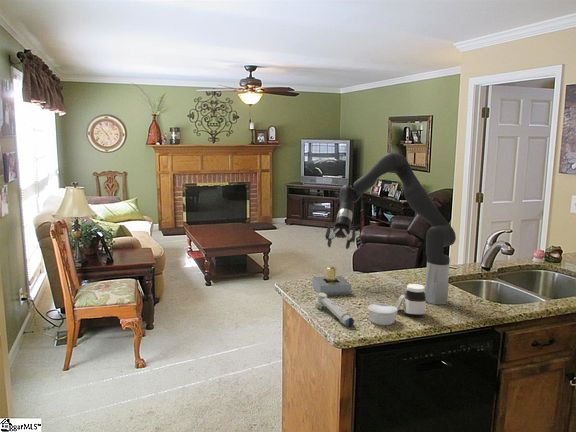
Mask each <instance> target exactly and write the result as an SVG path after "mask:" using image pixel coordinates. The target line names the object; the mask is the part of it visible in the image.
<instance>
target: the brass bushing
mask: <svg viewBox="0 0 576 432" xmlns="http://www.w3.org/2000/svg"><path fill="white" fill-rule="evenodd" d="M336 276H337V267H335V266H327V267H326V283H336Z"/></svg>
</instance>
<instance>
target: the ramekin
mask: <svg viewBox="0 0 576 432" xmlns="http://www.w3.org/2000/svg"><path fill="white" fill-rule="evenodd" d="M367 311H368V319H369V320H370V322H371V323H372V324H375V325H378V326H389V325H390V326H391V325H393V324H394V323H395V321H396V317H397V314H398V311H397V308H396V307H395V305H391V304H387V303H381V302H379V303H372V304H369V305H368V306H367ZM392 323H393V324H392Z"/></svg>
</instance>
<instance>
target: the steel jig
mask: <svg viewBox="0 0 576 432" xmlns="http://www.w3.org/2000/svg"><path fill="white" fill-rule="evenodd" d="M351 287H352V284H351V283H350V282H349V281H348V280H347V279H346V278H344V276H342V275H336V283H326V276H325V275H324V276H323V275H322V276H312V288H313V289H315V291H316V293H317V294H319V293H325V294H326V295H327V296H341V295H344V296H345V295H351V290H352V288H351Z"/></svg>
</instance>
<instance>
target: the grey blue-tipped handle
mask: <svg viewBox="0 0 576 432" xmlns="http://www.w3.org/2000/svg"><path fill="white" fill-rule="evenodd" d="M317 294H318V295H317V298H315V308H316V309H319V310H327V309H328V310H329V311H330V312H331V313H332V314H333V315H334V316H335V317H336V318H338V320H339V322H340V323H341V324H342V325H344V326H345V327H347V328H348V327H353V326H354V324H355V319H353V317H352V316H351V314H349V312H346V311H344V310H343V309H342V308H341V307H339V306H338V305H337V304H336V303H335V302H333V301H332V300H331V299H329V298H328V295H326V294H325V293H317Z"/></svg>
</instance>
